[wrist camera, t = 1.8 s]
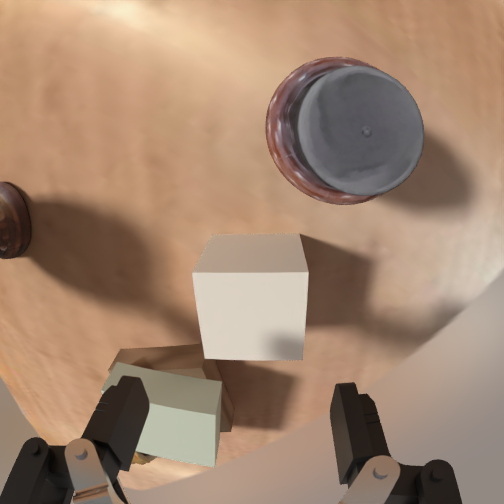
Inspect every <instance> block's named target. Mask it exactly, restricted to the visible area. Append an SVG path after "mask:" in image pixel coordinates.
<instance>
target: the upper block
mask: <svg viewBox="0 0 504 504" xmlns="http://www.w3.org/2000/svg"><path fill="white" fill-rule="evenodd" d="M123 375H126V376H133V377H140V378H141V380H142V382H143V385H144V388H145V391H146V393H147V396H148V398H149V403H150V409H149V413H148V416H147V419H146V422H145V425H144V428H143V430H142V433H141V436H140V439H139V442H138V445H137V448H136V451H138V452H141V453H145V454H149V455H153V456H157V457H162V458H166V459H171V460H176V461H181V462H186V463H191V464H197V465H203V466H209V467H215V465H216V459H217V452H218V446H219V440H220V417H221V392H222V381H215V380H208V379H201V378H195V377H189V376H183V375H177V374H172V373H166V372H161V371H156V370H151V369H146V368H142V367H137V366H133V365H128V364H124V363H120V362H117V363H116V365H115V366H114V368H113V370H112V372H111V373H110V375H109V377H108V379H107V380H106V382H105V384H104V386H103V388H102V389H101V392H102V395H103V393H104V392H105V391H106V390H107V389H108V388H109V387H110V386H111V385H114V386H117V384H118V382H119V380H120V378H121V377H122V376H123Z"/></svg>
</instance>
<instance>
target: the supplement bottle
mask: <svg viewBox="0 0 504 504" xmlns="http://www.w3.org/2000/svg"><path fill="white" fill-rule="evenodd" d="M266 139H267V144H268V148H269V151H270V154H271V156H272V158H273V160H274V162H275V164H276V166H277V167H278V169H279V171H280V172H281V173H282V175H283V176H284V177H285V178H286V179H287V180H288V181H289V182H290V183H291V184H292V185H293V186H295V187H296V188H297V189H299V190H300V191H301V192H303V193H305V194H306V195H308V196H310V197H312V198H315V199H317V200H319V201H323V202H326V203H330V204H338V205H351V204H358V203H363V202H366V201H369V200H373V199H374V198H376V197H378V196H380V195H382V194H383V193H385V192H387V191H390V190H392V189H394V188H395V187H397V186H399V185H400V184H401V183H403V182H404V181H405V180H406V179H407V178H408V177H409V176H410V174H411V173H412V172H413V170H414V169H415V167H416V166H417V163H418V161H419V159H420V157H421V154H422V150H423V144H424V125H423V120H422V116H421V113H420V110H419V108H418V106H417V104H416V102H415V100H414V99H413V97H412V96H411V94H410V93H409V91H408V90H407V89H406V88H405V87H404V86H403V85H402V84H401V83H400V82H399V81H398V80H396V79H395V78H393V77H391V76H390V75H388V74H386V73H384V72H383V71H381V70H379V69H377V68H376V67H374V66H372V65H370V64H368V63H365V62H362V61H359V60H356V59H351V58H343V57H328V58H321V59H317V60H314V61H311V62H308V63H306V64H304V65H302V66H300V67H299V68H297V69H296V70H294V71H293V72H291V74H290V75H289V76H288V77H286V78H285V80H284V81H283V82H282V83H281V84H280V85H279V87H278V88H277V90H276V91H275V93H274V95H273V97H272V99H271V101H270V104H269V107H268V111H267V116H266Z"/></svg>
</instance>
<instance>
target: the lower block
mask: <svg viewBox="0 0 504 504" xmlns="http://www.w3.org/2000/svg"><path fill="white" fill-rule="evenodd" d="M117 362H120V363H124V364H128V365H133V366H137V367H142V368H146V369H151V370H156V371H161V372H166V373H172V374H177V375H183V376H189V377H195V378H201V379H208V380H215V381H222V392H221V417H220V432H231V429H232V421H233V414H234V406H233V404H232V402H231V399H230V397H229V394H228V392H227V390H226V387H225V385H224V382H223V380H222V377H221V375H220V372H219V370H218V367H217V364H216V362H215V359H205V356H204V350H203V344H194V345H182V346H168V347H153V348H133V349H120V351H119V352H118V354H117V356H116V358H115V359H114V361H113V363H112V364H111V366H110V368H109V370H108V371H109V373H111V372H112V370H113V368H114V366H115V365H116V363H117Z"/></svg>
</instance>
